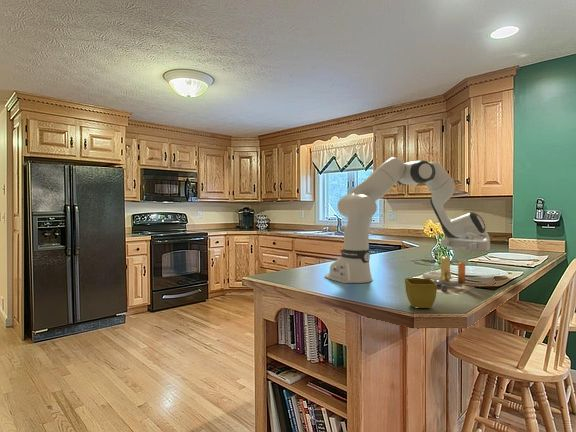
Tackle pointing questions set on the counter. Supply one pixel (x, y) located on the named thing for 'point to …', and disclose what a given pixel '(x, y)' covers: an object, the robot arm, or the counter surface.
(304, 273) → the counter surface
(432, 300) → the flower pot
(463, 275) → the crank
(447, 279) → the pin
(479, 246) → the robot arm
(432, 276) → the dish
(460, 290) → the crank base
